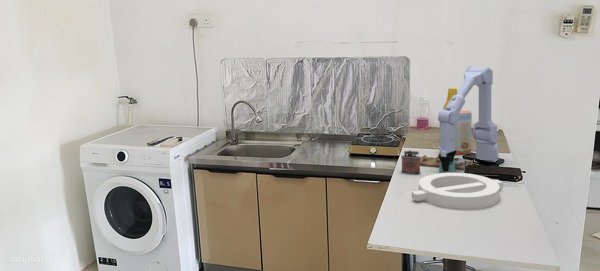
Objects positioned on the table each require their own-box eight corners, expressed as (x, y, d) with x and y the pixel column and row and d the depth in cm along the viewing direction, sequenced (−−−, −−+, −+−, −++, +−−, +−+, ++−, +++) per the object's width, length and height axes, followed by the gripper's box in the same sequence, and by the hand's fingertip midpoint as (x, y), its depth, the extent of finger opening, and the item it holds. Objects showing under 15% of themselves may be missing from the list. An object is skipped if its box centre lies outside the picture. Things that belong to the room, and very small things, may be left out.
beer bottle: (438, 141, 252) (439, 88, 246) (452, 139, 256) (453, 86, 250) (450, 144, 244) (452, 90, 238) (464, 142, 248) (465, 88, 241)
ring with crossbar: (504, 189, 175) (504, 177, 174) (492, 215, 152) (492, 201, 151) (430, 180, 190) (430, 169, 189) (409, 203, 166) (409, 190, 165)
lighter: (400, 173, 200) (400, 150, 198) (402, 171, 203) (402, 149, 201) (419, 175, 196) (419, 152, 194) (421, 172, 199) (421, 150, 197)
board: (471, 163, 209) (471, 155, 209) (465, 170, 199) (466, 162, 198) (421, 158, 221) (421, 151, 220) (413, 165, 211) (413, 157, 210)
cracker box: (467, 151, 228) (469, 110, 224) (471, 155, 223) (472, 112, 218) (438, 152, 230) (439, 111, 225) (441, 155, 224) (441, 113, 220)
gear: (456, 170, 199) (456, 161, 198) (453, 175, 193) (453, 165, 192) (441, 169, 202) (441, 160, 201) (437, 173, 196) (437, 164, 196)
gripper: (442, 133, 202) (442, 163, 205) (433, 141, 190) (433, 172, 193) (459, 134, 199) (458, 165, 202) (451, 142, 187) (450, 174, 190)
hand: (447, 168), depth 197 cm, fingers closed on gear, 6 cm apart
